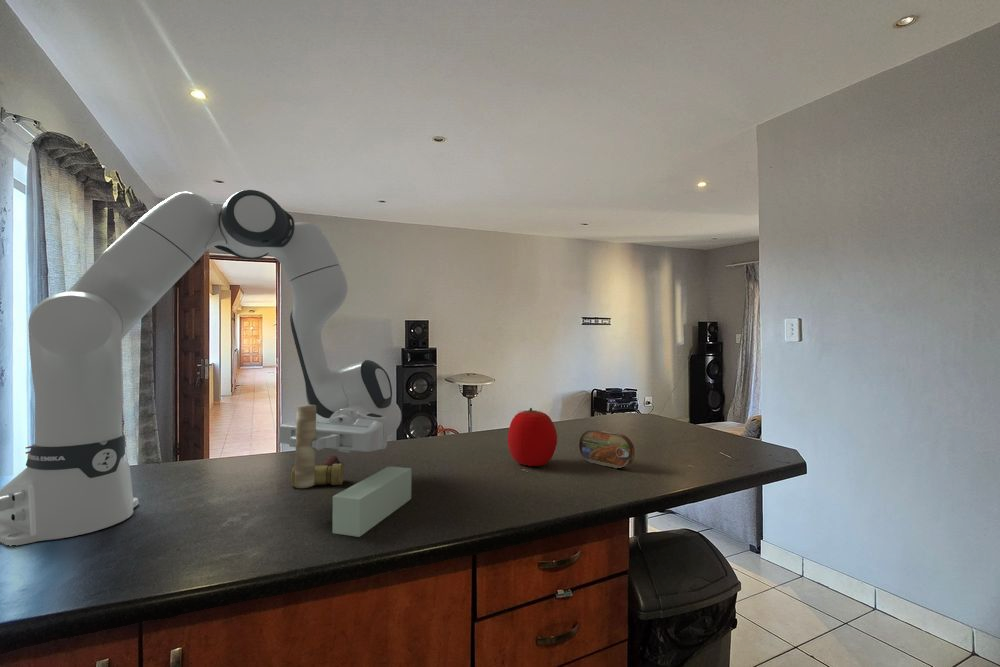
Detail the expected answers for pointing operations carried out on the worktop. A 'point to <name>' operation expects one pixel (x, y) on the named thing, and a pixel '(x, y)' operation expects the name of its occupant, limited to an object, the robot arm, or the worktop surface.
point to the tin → (607, 447)
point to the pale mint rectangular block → (370, 501)
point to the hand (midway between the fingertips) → (303, 443)
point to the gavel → (326, 473)
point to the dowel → (305, 446)
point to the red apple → (532, 438)
